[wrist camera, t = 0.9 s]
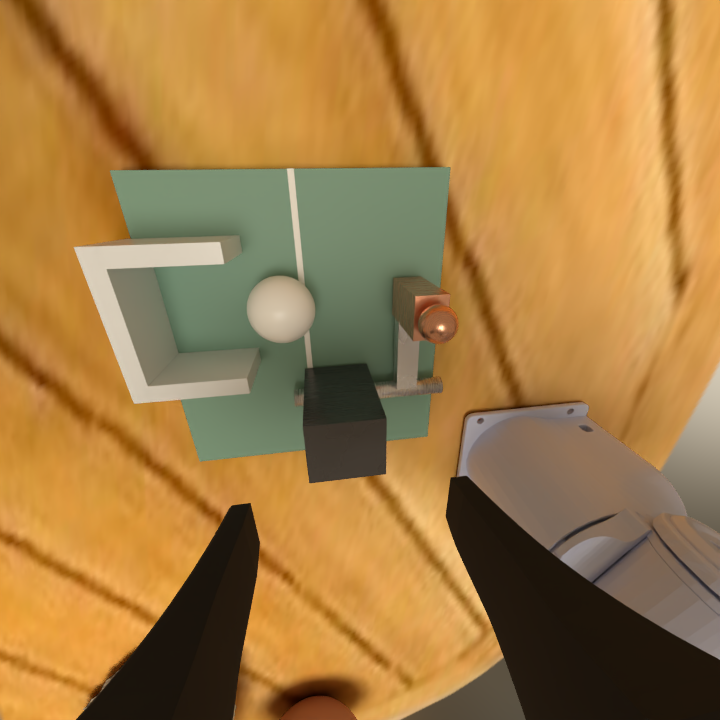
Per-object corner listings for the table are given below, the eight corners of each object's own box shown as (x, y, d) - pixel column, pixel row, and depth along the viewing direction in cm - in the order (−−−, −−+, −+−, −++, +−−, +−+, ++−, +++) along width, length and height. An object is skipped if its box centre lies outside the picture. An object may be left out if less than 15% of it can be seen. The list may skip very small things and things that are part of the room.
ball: (312, 268, 16) (312, 281, 13) (317, 328, 18) (318, 351, 15) (247, 271, 16) (233, 285, 13) (258, 332, 17) (247, 356, 14)
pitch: (442, 169, 16) (451, 167, 15) (422, 427, 23) (427, 437, 22) (122, 173, 14) (108, 170, 13) (204, 450, 21) (199, 462, 20)
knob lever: (446, 274, 17) (503, 302, 12) (434, 402, 21) (475, 465, 16) (281, 283, 16) (267, 316, 11) (298, 415, 20) (293, 487, 15)
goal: (239, 235, 15) (219, 242, 12) (261, 360, 18) (250, 393, 15) (126, 238, 15) (73, 247, 11) (166, 367, 17) (134, 403, 14)
